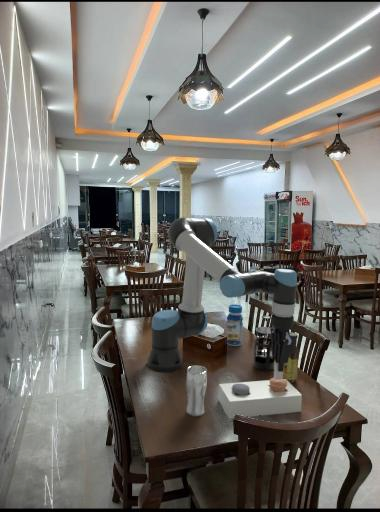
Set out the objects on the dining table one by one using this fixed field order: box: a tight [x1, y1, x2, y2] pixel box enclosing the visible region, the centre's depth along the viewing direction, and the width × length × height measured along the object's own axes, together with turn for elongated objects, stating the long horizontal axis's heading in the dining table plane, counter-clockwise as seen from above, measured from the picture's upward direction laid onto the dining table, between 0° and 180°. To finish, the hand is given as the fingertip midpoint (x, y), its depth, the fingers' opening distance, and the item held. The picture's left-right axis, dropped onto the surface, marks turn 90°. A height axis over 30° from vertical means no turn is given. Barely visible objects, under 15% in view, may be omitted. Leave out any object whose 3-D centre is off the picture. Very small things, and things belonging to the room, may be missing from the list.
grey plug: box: [232, 384, 250, 396], centre depth 124 cm, size 6×6×6 cm
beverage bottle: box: [225, 303, 244, 347], centre depth 184 cm, size 8×8×20 cm
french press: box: [252, 315, 275, 372], centre depth 157 cm, size 12×9×23 cm
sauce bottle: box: [283, 331, 300, 384], centre depth 145 cm, size 6×6×20 cm
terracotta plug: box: [269, 377, 287, 392], centre depth 127 cm, size 6×6×6 cm
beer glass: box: [185, 364, 208, 417], centre depth 121 cm, size 7×7×15 cm
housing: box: [217, 379, 303, 419], centre depth 126 cm, size 26×12×6 cm, turn 102°
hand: (278, 378), depth 127 cm, fingers closed
